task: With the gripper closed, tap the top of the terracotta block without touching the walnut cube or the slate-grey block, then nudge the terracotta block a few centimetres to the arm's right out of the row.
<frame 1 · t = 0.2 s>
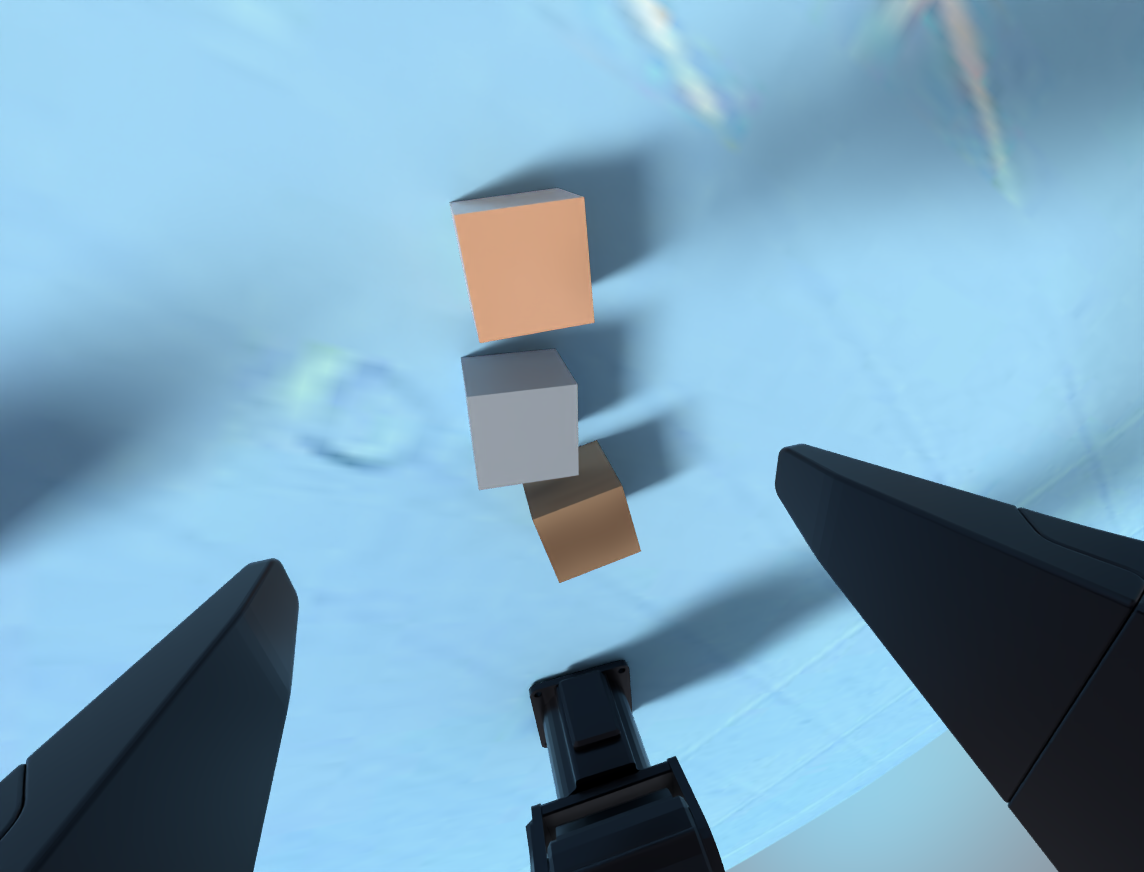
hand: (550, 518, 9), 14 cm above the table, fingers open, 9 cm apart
walnut cube: (568, 485, 26), on the table
terracotta block: (512, 251, 20), on the table
slate block: (512, 395, 23), on the table
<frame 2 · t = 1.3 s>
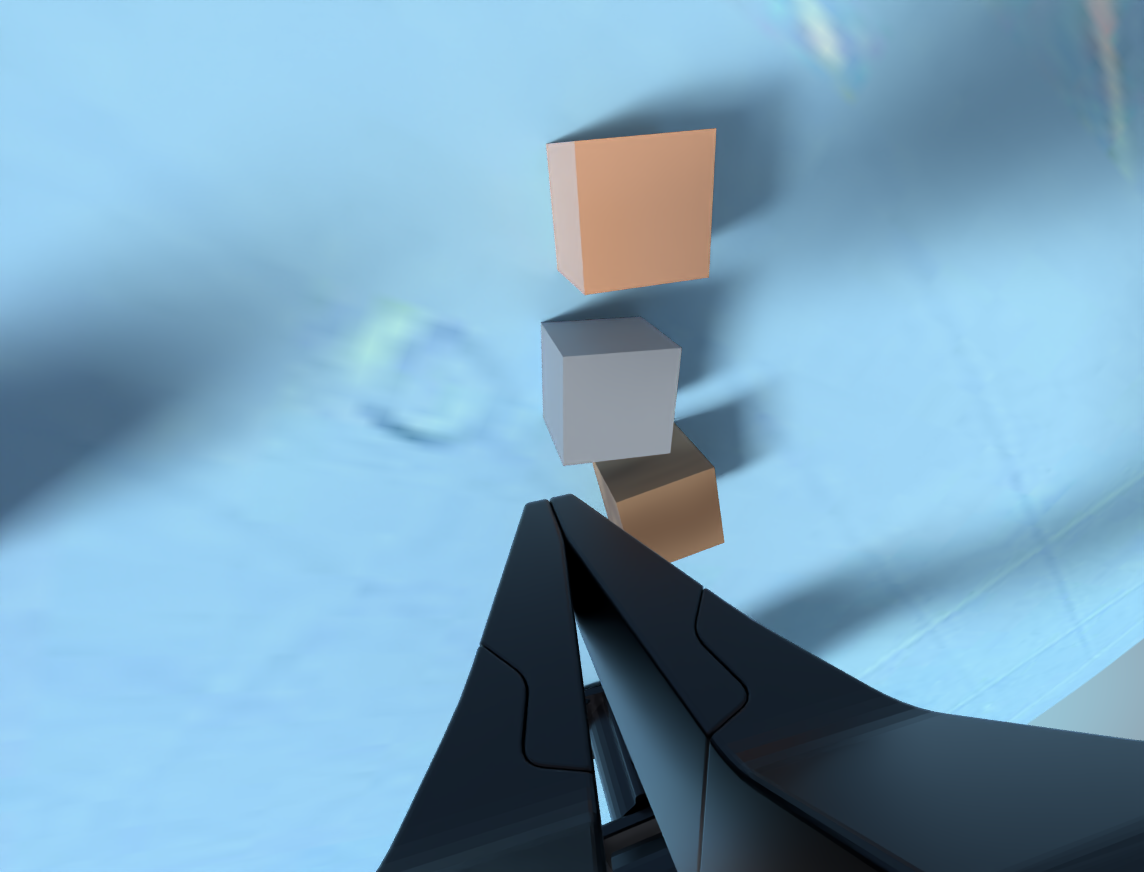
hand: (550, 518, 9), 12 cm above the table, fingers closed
walnut cube: (639, 471, 24), on the table
terracotta block: (607, 204, 18), on the table
slate block: (590, 367, 21), on the table
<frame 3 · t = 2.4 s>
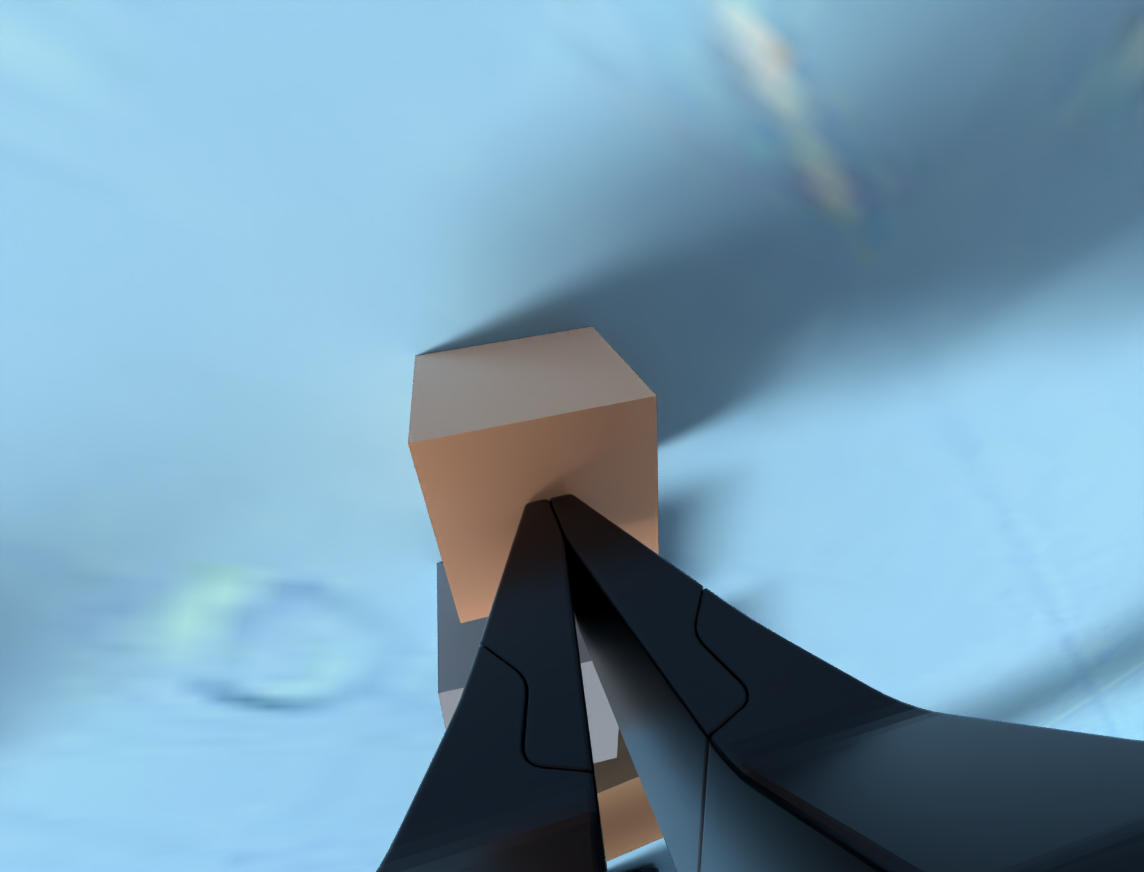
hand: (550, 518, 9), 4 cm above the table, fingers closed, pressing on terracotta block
walnut cube: (592, 695, 18), on the table
terracotta block: (518, 418, 13), on the table, touching gripper
slate block: (514, 601, 15), on the table
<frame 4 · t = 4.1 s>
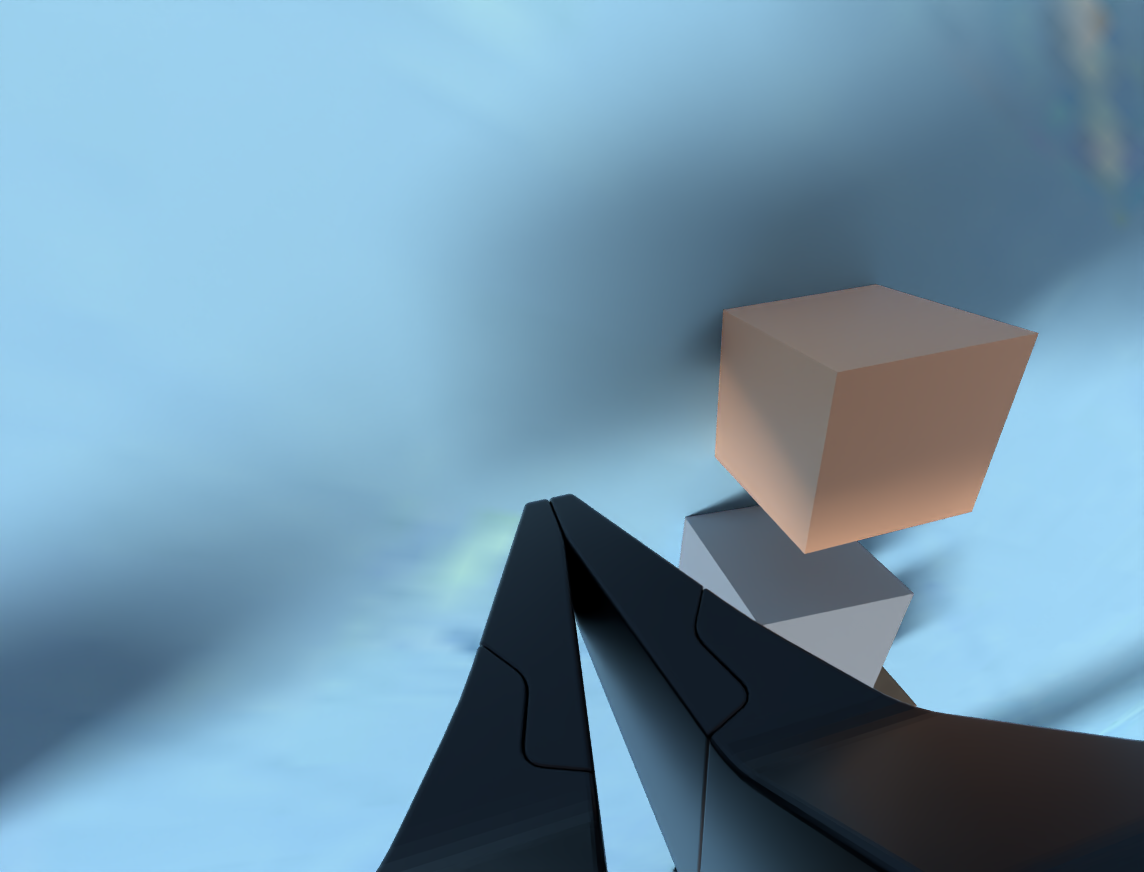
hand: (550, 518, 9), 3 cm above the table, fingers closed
walnut cube: (776, 656, 19), on the table
terracotta block: (789, 373, 13), on the table
slate block: (737, 557, 16), on the table
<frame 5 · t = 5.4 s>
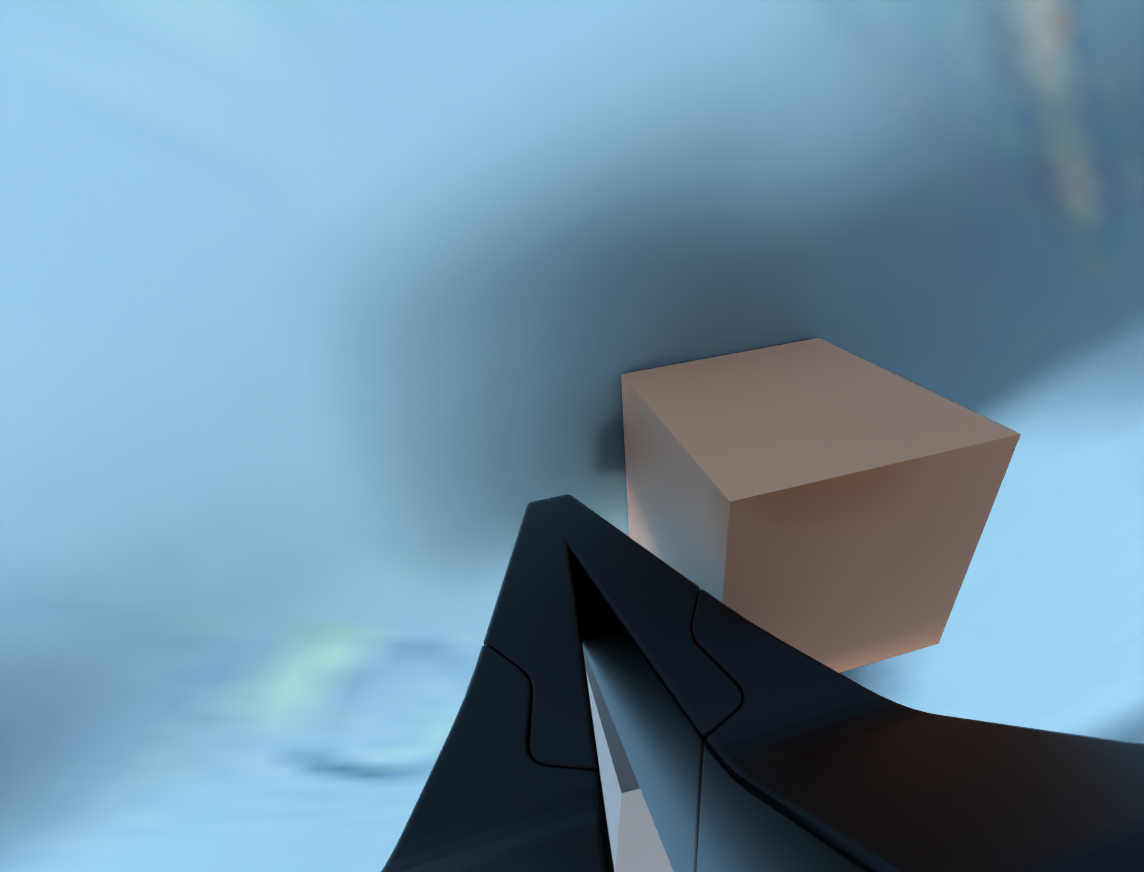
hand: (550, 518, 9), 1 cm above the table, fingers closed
terracotta block: (718, 446, 11), on the table, touching gripper
slate block: (644, 655, 14), on the table
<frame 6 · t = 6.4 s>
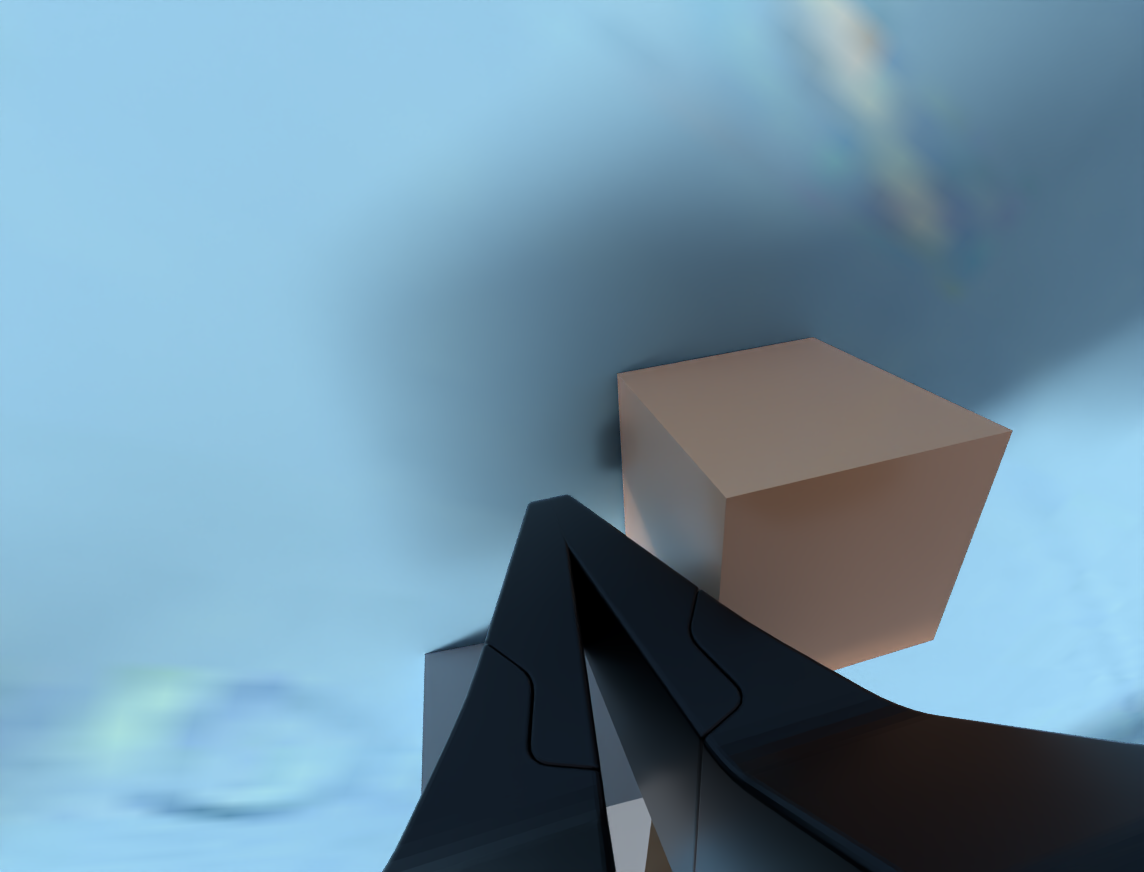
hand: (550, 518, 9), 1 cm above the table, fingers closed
walnut cube: (606, 782, 16), on the table
terracotta block: (713, 445, 11), on the table, touching gripper
slate block: (517, 689, 13), on the table
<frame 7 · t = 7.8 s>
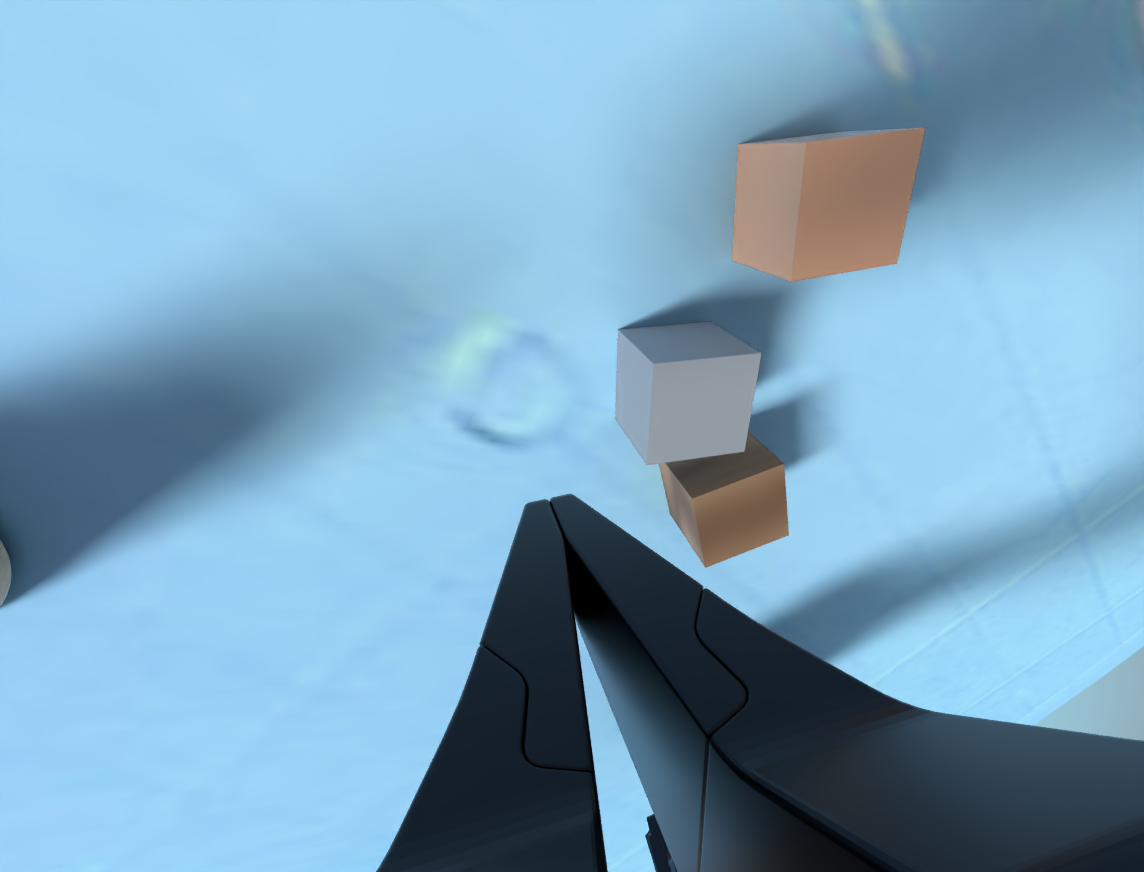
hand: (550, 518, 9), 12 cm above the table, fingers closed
walnut cube: (700, 468, 25), on the table
terracotta block: (782, 198, 20), on the table
slate block: (660, 370, 22), on the table
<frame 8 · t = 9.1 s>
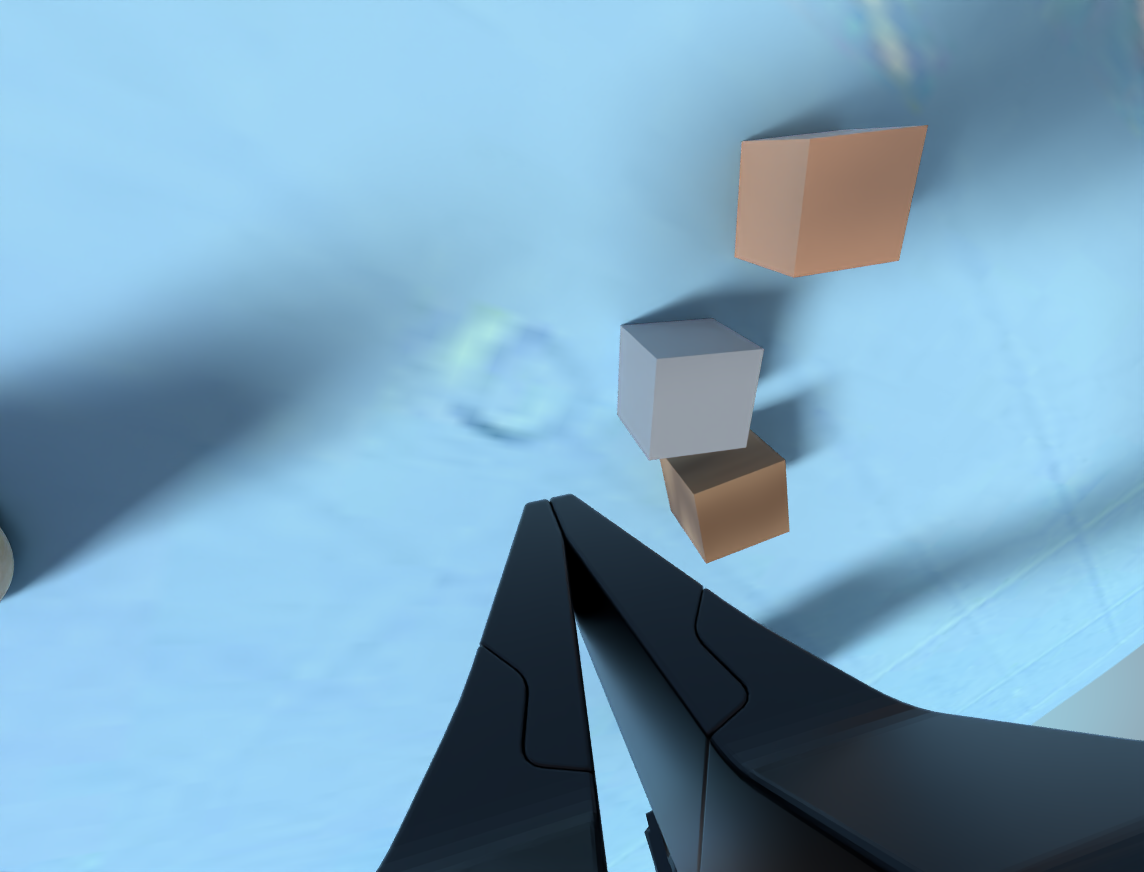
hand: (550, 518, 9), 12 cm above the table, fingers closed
walnut cube: (701, 464, 25), on the table
terracotta block: (784, 195, 20), on the table
slate block: (662, 366, 22), on the table
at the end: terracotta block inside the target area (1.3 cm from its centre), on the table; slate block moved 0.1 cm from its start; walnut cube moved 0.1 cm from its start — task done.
